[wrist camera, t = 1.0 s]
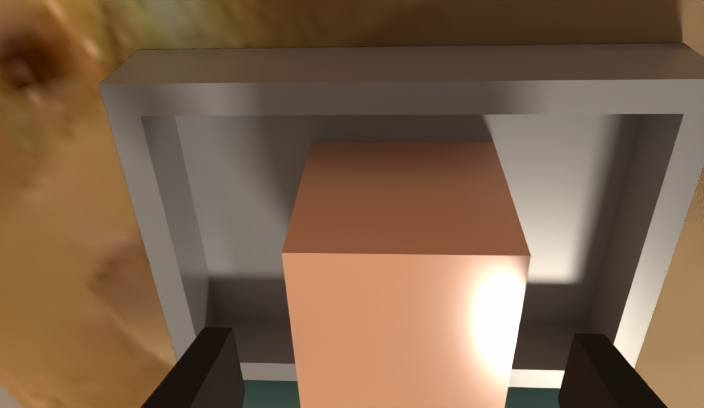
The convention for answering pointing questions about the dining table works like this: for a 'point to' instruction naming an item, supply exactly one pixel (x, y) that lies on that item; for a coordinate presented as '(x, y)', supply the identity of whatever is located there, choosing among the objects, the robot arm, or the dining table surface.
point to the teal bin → (284, 404)
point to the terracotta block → (404, 276)
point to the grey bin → (413, 126)
